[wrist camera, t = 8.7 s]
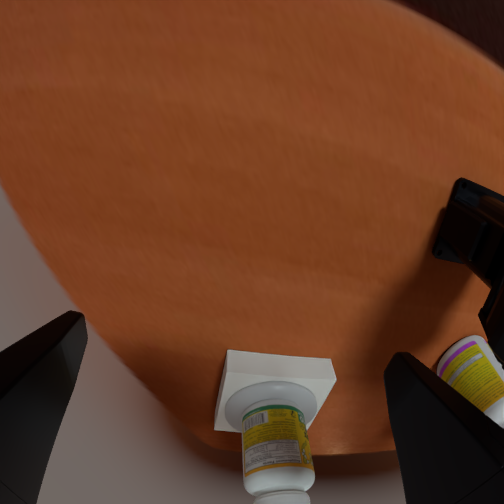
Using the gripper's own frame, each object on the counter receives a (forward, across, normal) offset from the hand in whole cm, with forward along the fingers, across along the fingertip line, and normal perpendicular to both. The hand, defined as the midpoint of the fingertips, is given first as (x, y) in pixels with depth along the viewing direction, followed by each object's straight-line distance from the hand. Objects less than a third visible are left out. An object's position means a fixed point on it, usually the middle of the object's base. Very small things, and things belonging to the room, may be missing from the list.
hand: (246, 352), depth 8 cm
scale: (+13, -6, +17) cm, 22 cm away
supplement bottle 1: (+10, -6, +17) cm, 20 cm away
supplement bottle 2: (+13, -26, +12) cm, 32 cm away
